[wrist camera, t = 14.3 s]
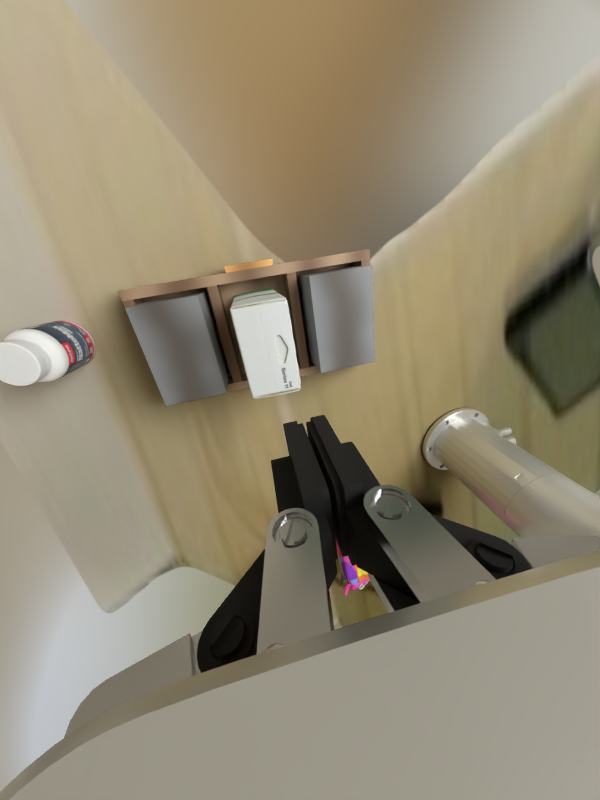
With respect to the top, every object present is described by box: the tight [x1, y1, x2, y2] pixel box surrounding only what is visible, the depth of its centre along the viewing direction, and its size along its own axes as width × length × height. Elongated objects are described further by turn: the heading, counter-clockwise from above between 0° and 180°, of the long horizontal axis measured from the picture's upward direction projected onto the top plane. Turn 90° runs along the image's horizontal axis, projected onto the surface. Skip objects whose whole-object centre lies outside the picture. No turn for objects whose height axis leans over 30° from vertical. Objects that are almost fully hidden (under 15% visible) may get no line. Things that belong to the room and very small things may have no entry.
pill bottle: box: [0, 321, 95, 386], centre depth 28 cm, size 5×5×9 cm
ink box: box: [230, 288, 301, 399], centre depth 29 cm, size 9×5×12 cm, turn 9°
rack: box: [118, 249, 375, 406], centre depth 31 cm, size 26×14×8 cm, turn 99°
